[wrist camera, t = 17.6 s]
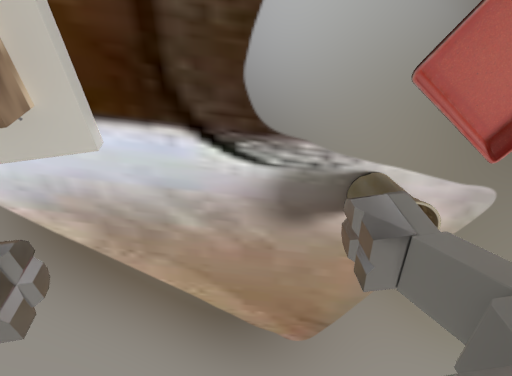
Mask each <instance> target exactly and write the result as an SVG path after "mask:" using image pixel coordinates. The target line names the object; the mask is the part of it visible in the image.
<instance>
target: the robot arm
mask: <svg viewBox="0 0 512 376" xmlns="http://www.w3.org/2000/svg"><path fill="white" fill-rule="evenodd" d="M343 211H344V213H345V215H346V217H347V219H346V220H345V221H344V222H343V223H342V231H341V234H342V243H343V246H344V250H345V252H346V254H347V257H348V258H349V259H351V260H352V261H354V262H355V266H354V273H355V275H356V277H357V279H358V281H359V283H360V286H361V288H362V290H363V292H368V291H377V290H386V289H395V288H397V291H399V292H400V293H401V294H402V295H404V296H405V297H406V298H407V299H409V300H410V301H411V302H412V303H414V304H415V305H416V306H417V307H418V308H420V309H421V310H422V311H423V312H425V313H426V314H427V315H428V316H430V317H431V318H432V319H434V320H435V321H436V322H437V323H439V324H440V325H441V326H442V327H443V328H445V329H446V330H447V331H448V332H450V333H451V334H452V335H453V336H455V337H456V338H457V339H458V340H460V341H461V342H462V343H463V344H465V347H464V349H463V351H462V352H461V354H460V356H459V358H458V359H457V361H456V364H455V366H454V368H455V370H456V371H457V373H458V374H453V375H447V376H512V262H510V261H508V260H506V259H504V258H502V257H500V256H498V255H496V254H493V253H491V252H489V251H487V250H485V249H483V248H481V247H479V246H476V245H474V244H472V243H470V242H468V241H466V240H464V239H462V238H459V237H457V236H455V235H453V234H451V233H449V232H440V231H439V230H438V228H437V227H436V226H435V225H434V224H433V222H432V221H431V220H430V219H429V218H428V216H427V215H426V214H425V213H424V212H423V210H422V209H421V208H420V207H419V206H418V204H417V203H416V202H415V201H414V200H413V199H412V197H411V196H410V195H409V194H408V193H407V192H405V191H396V192H389V193H384V194H378V195H371V196H363V197H356V198H348V199H346V201H345V203H344V210H343ZM34 253H35V250H34V248H33V247H32V245H31V244H30V243H29V241H25V240H14V241H5V242H0V343H4V342H10V341H16V340H22V339H24V338H25V336H26V334H27V332H28V330H29V328H30V325H31V324H32V322H33V319H34V318H35V316H36V311H35V308H34V307H35V306H36V305H37V304H38V303H39V302H41V301H42V300H43V299H44V298H45V296H46V294H47V291H48V289H49V283H50V275H49V271H48V268H47V267H46V265H45V264H44V262H42V261H40V260H38V259H36V258H34V257H33V256H34Z"/></svg>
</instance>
